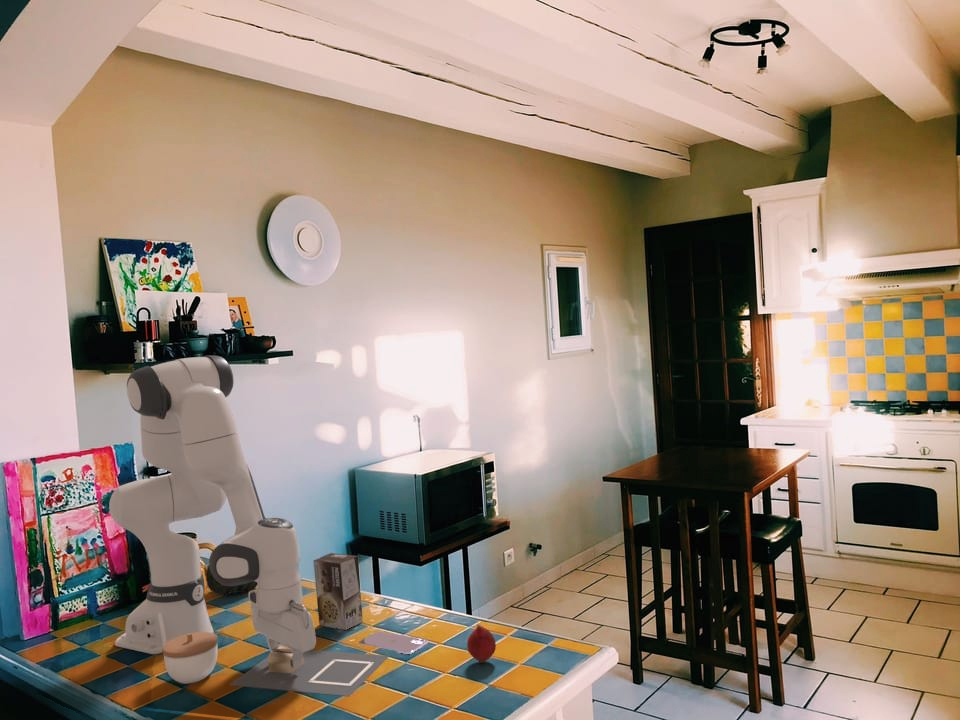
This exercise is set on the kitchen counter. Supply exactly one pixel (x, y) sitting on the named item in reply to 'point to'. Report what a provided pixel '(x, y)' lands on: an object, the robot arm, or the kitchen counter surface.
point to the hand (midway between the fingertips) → (286, 661)
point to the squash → (225, 590)
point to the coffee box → (338, 591)
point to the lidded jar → (191, 656)
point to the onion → (481, 644)
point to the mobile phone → (394, 642)
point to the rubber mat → (316, 673)
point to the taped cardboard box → (281, 660)
